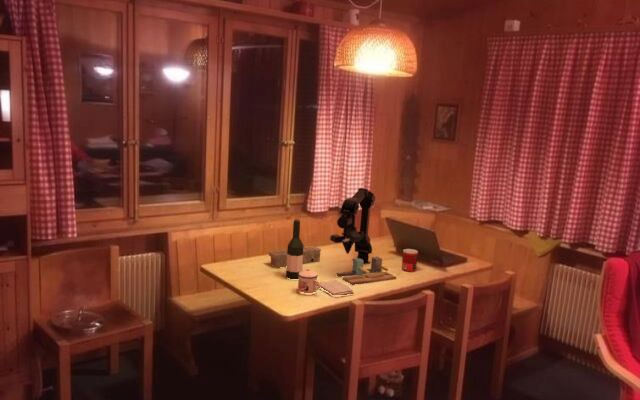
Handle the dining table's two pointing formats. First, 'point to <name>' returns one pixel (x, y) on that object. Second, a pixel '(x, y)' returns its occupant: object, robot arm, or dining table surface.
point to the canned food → (409, 260)
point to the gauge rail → (375, 267)
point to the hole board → (369, 278)
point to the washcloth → (336, 287)
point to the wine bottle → (294, 253)
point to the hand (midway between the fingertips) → (347, 253)
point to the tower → (308, 256)
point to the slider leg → (358, 266)
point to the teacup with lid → (308, 281)
